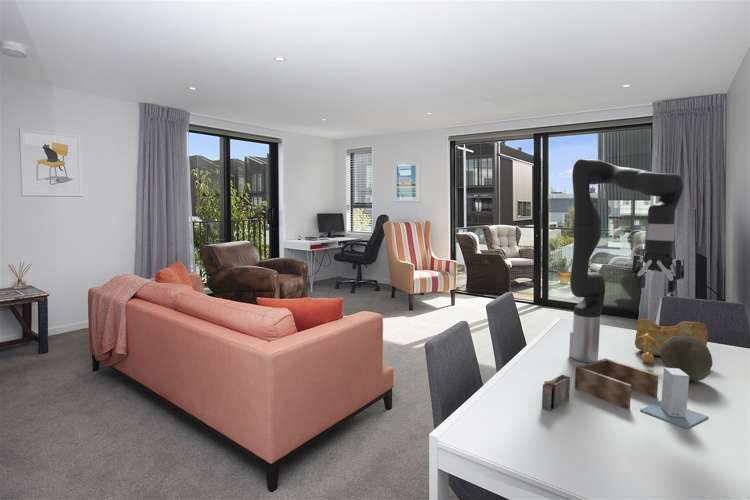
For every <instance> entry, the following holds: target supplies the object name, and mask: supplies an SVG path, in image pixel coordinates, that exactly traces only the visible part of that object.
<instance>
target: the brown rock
mask: <svg viewBox="0 0 750 500" xmlns="http://www.w3.org/2000/svg"><path fill="white" fill-rule="evenodd" d="M660 358H661V361H662V365H664V368H677V369H680V370H682V371H683V372H684V373H686V374H687V375H688V376H689V382H699V381H702V380H703V381H704V379H706V378H707V377H708V376H709V375H710V373H711V369H712V367H713V357H712V353H711V351H710V349H709V347H708V346H707V345H705V344H704V343H703V342H702V341H701V340H699V339H697V338H695V337H691V336H673V337H671V338H669V339H668V340H666V341H665V342H664V343H663V345H662V346H661V349H660Z"/></svg>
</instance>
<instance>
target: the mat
mask: <svg viewBox="0 0 750 500" xmlns="http://www.w3.org/2000/svg"><path fill="white" fill-rule="evenodd" d="M639 411H640V412H642V413H645V414H647V415H650V416H653V417H655V418H658V419H660V420H663V421H665V422H668V423H671V424H673V425H676V426H679V427H680V428H684V429H686V430H688V429H690V428H691V427H694V426H695V425H698V424H699V423H701V422H703V421H705V420H708V419H709V418H710V417H709V415H707V414H706V415H705V414H702V413H700V412H697V411H694V410H692V409H688V408H687V411H686V418H683V417H672V416H669V415H668V414H667V413H666V412H665V411H664V410H663V409H662V408H661V400H659V401H658V402H655V403H652V404H649V405H648V406H645V407H643V408H641V409H640V410H639Z"/></svg>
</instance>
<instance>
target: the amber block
mask: <svg viewBox="0 0 750 500" xmlns="http://www.w3.org/2000/svg"><path fill="white" fill-rule="evenodd" d="M636 326H637V327H636V333H635V340H636V339H637V337H639V336H643V335H645V334H646V333H649V336H650V337H651V338H653V339H654V340H656V341H657V343H658V344H659V345H660V347H659V345H657V343H656V342H655V341H653V340H651V339H650V341H649V343H651V346H652V348H651V350H650V353H651V354H652V355H653V356H657V357H659V356H660V349H661V346H662V345H663V343H664V342H665V341H666V340H668V339H669V338H671V337H673V336H691V337H695V338H697V339H699V340H701V341H702V342H703V343H704V344H705V345H706V346H707V344H708V334H709V331H708V329H707V326H706V324H704V323H702V322H698V321H680V322H679V323H677V324H676V325H672V326H663V325H661V326H660V325H658V324H657V323H655V322H654V321H652V320H651V319H649V318H639V319H638V320H637V325H636ZM635 340H634V341H635ZM643 342H645V341H644V339H643V338H638V339H637V341H636V343H635V342H634V346H635V348H636V349H638V350H639V351H641V352H642V353H645V352H644V347H645V346H644V345H643ZM649 348H650V347H648V345H647V346H646V352H648V353H649ZM660 357H661V356H660Z"/></svg>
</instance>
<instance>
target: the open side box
mask: <svg viewBox="0 0 750 500" xmlns="http://www.w3.org/2000/svg"><path fill="white" fill-rule="evenodd" d="M659 378H660V375H659V374H657V373H654V372H651V371H648V370H644V369H641V368H638V367H634V366H631V365H629V364H625V363H622V362H620V361H616V360H612V359H608V358H602V359H598V361H595V362H587V363H585V364H582V365H579V366H576V367H575V379H574V389H576V390H579V391H581V392H583V393H585V394H588V395H591V396H594V397H596V398H598V399H601V400H604V401H606V402H609V403H612V404H613V405H616V406H619V407H621V408H624V409H626V410H628V409H631V396H632V390H633V391H635V392H637V393H640V394H643V395H647V396H648V397H652V398H657V397H658V392H659Z"/></svg>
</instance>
